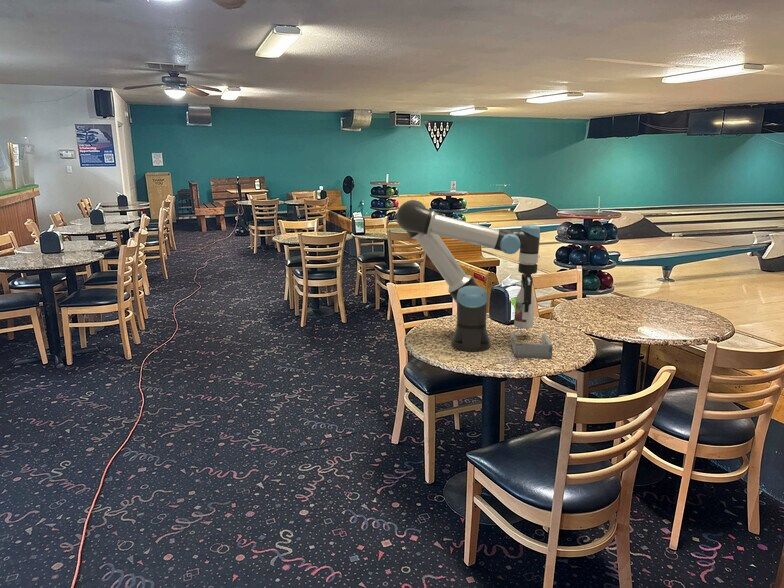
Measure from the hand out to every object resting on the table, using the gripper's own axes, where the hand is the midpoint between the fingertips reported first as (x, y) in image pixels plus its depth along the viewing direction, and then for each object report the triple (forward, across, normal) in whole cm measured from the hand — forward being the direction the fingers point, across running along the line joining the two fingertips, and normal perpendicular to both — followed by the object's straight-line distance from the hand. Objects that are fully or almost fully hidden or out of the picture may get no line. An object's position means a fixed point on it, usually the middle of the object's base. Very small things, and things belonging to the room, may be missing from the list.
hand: (523, 316), depth 220 cm
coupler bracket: (+9, -18, -1) cm, 20 cm away
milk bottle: (+4, 0, 0) cm, 4 cm away
